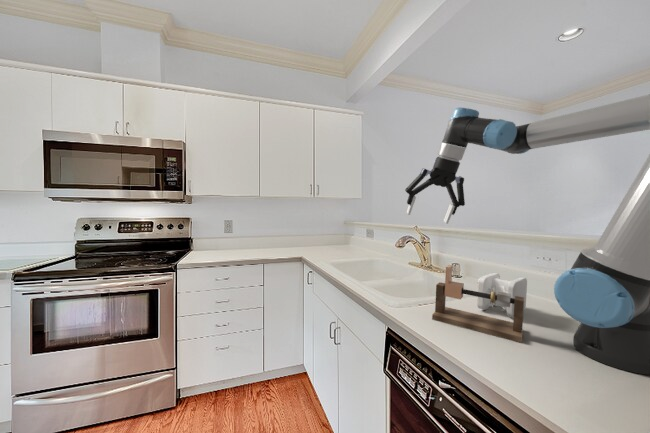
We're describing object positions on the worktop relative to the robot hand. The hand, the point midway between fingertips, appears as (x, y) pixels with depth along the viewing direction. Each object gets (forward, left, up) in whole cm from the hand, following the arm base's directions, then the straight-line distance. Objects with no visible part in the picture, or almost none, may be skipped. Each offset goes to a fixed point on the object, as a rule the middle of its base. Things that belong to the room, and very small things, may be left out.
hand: (426, 217), depth 96 cm
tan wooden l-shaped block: (-11, +8, -24) cm, 27 cm away
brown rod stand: (-18, +8, -31) cm, 36 cm away
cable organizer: (-23, -11, -31) cm, 40 cm away
